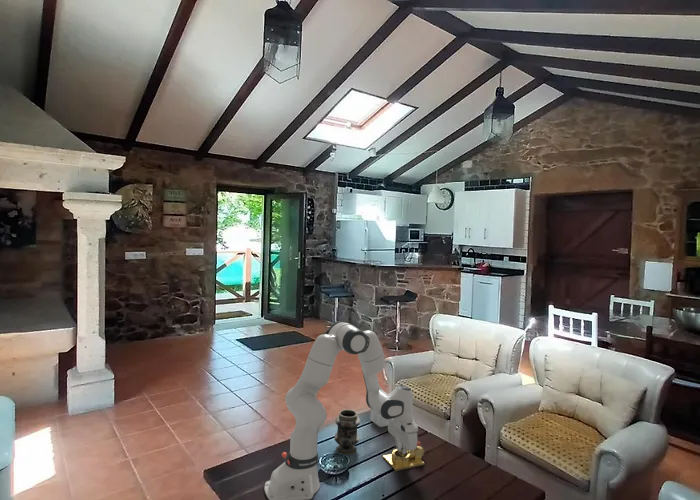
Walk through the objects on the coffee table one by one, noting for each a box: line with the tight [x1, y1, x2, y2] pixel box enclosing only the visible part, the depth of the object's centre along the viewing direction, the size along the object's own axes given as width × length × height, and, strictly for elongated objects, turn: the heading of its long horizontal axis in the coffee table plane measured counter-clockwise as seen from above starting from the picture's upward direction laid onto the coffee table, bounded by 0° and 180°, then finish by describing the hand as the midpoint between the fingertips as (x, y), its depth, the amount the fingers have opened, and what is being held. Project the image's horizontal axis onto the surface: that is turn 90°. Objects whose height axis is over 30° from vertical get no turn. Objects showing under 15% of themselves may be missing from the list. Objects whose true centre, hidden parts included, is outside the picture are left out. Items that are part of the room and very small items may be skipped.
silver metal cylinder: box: [396, 438, 405, 457], centre depth 202 cm, size 4×4×10 cm
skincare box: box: [369, 408, 389, 428], centre depth 242 cm, size 10×6×10 cm, turn 30°
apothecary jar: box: [333, 409, 361, 455], centre depth 212 cm, size 12×12×18 cm
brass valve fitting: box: [382, 439, 425, 472], centre depth 204 cm, size 18×12×8 cm
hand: (401, 450), depth 202 cm, fingers closed on silver metal cylinder, 4 cm apart
